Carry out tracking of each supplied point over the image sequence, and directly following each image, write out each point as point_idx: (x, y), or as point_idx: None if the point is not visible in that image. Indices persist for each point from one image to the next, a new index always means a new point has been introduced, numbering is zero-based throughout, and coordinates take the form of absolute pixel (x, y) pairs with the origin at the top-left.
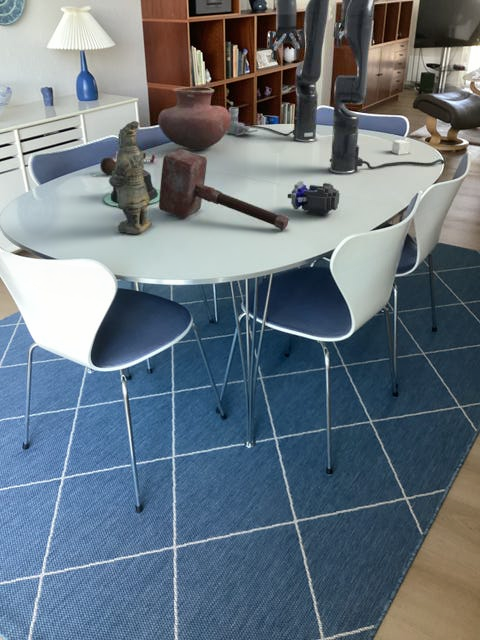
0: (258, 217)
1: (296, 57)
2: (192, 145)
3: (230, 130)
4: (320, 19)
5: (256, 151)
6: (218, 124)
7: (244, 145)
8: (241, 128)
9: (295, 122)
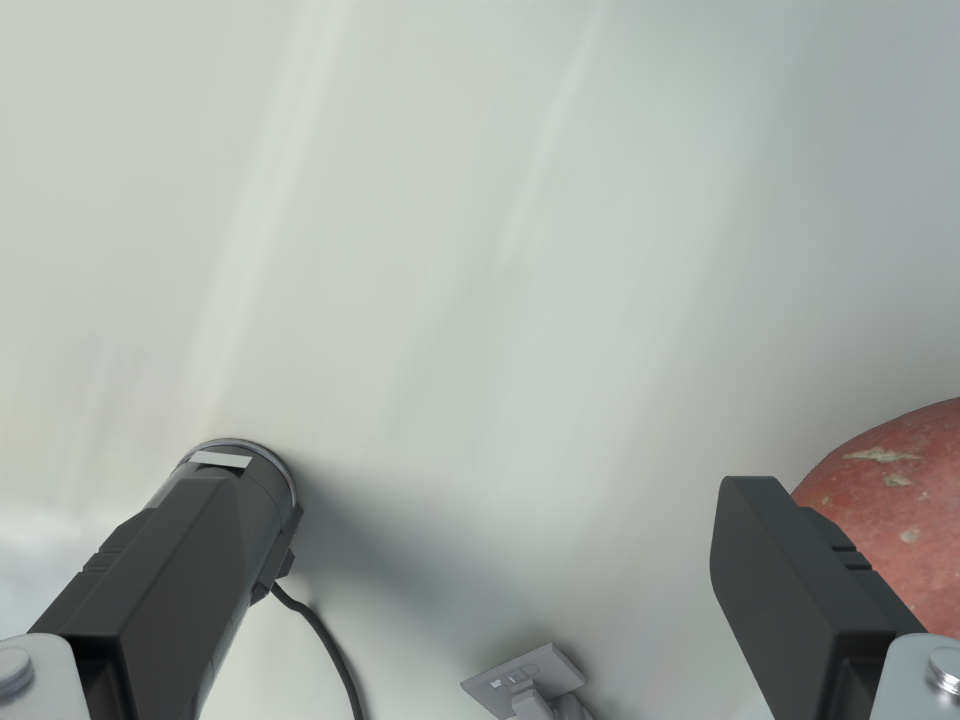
0: None
1: (199, 498)
2: None
3: None
4: None
5: (606, 343)
6: (934, 445)
7: (616, 494)
8: (552, 715)
9: (269, 569)
